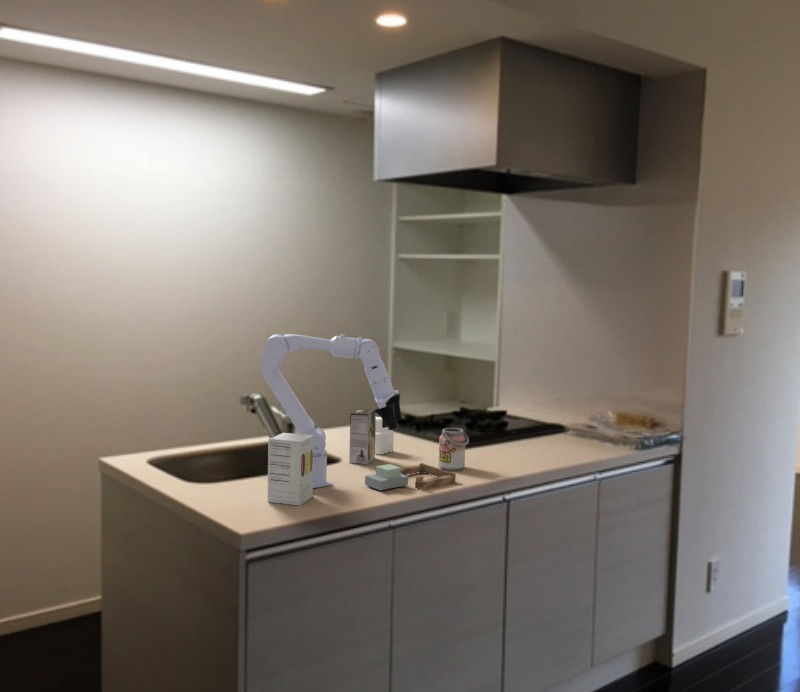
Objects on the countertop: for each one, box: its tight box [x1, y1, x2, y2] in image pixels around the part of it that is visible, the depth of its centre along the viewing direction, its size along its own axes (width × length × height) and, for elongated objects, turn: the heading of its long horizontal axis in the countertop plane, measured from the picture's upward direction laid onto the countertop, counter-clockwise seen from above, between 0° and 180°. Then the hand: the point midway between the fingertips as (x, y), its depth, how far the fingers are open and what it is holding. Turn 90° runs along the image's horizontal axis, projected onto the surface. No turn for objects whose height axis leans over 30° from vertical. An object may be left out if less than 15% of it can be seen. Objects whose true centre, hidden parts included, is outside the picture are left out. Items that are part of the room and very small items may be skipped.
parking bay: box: [400, 462, 457, 491], centre depth 233 cm, size 14×16×4 cm
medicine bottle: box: [375, 415, 395, 455], centre depth 267 cm, size 7×7×12 cm
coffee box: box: [348, 408, 377, 465], centre depth 254 cm, size 9×6×16 cm
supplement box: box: [267, 432, 314, 507], centre depth 210 cm, size 10×9×17 cm
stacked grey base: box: [364, 463, 409, 492], centre depth 225 cm, size 10×7×6 cm
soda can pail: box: [438, 427, 470, 472], centre depth 248 cm, size 9×8×12 cm
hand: (396, 424), depth 226 cm, fingers open, 7 cm apart
